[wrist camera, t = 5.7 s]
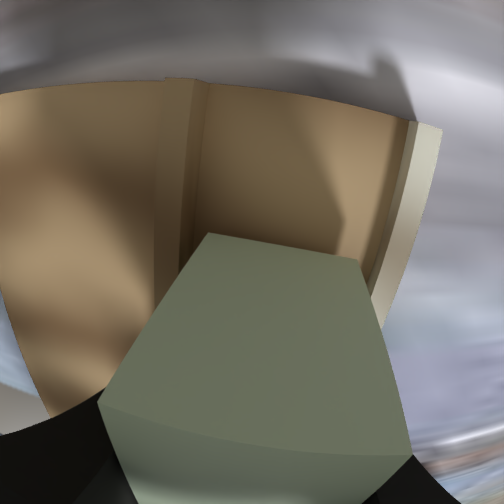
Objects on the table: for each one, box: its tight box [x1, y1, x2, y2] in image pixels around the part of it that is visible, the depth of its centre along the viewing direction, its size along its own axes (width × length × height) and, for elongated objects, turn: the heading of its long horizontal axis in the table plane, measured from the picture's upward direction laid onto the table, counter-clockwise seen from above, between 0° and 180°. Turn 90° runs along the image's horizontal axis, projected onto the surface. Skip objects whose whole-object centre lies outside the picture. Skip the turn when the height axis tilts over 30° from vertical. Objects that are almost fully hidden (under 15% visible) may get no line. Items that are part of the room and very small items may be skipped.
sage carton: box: [97, 232, 413, 504], centre depth 8 cm, size 7×5×6 cm, turn 172°
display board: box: [0, 78, 443, 418], centre depth 14 cm, size 24×18×3 cm
